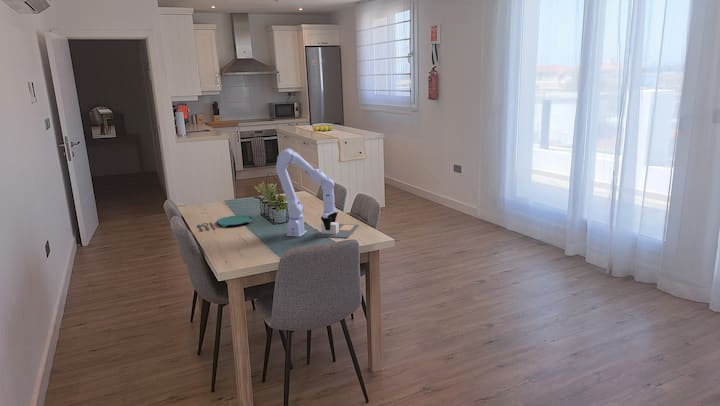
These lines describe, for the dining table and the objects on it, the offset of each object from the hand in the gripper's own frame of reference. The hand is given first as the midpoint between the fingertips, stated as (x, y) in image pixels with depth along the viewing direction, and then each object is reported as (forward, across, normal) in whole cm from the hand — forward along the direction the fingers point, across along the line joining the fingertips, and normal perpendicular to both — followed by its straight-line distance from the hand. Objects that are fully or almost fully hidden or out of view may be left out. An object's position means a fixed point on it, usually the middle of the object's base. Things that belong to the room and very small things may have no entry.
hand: (330, 227), depth 255 cm
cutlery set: (+3, +6, +64) cm, 65 cm away
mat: (+3, +5, -3) cm, 7 cm away
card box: (+2, 0, 0) cm, 3 cm away
